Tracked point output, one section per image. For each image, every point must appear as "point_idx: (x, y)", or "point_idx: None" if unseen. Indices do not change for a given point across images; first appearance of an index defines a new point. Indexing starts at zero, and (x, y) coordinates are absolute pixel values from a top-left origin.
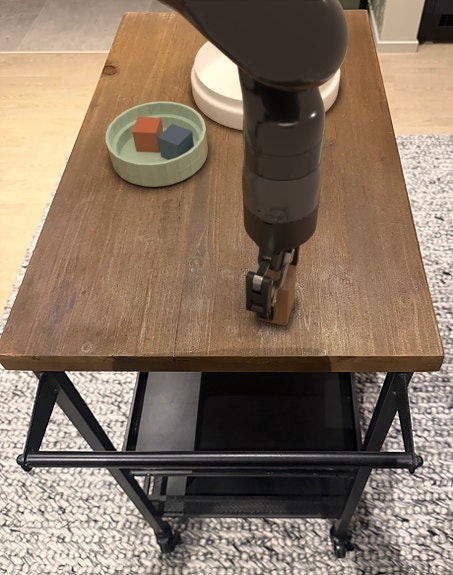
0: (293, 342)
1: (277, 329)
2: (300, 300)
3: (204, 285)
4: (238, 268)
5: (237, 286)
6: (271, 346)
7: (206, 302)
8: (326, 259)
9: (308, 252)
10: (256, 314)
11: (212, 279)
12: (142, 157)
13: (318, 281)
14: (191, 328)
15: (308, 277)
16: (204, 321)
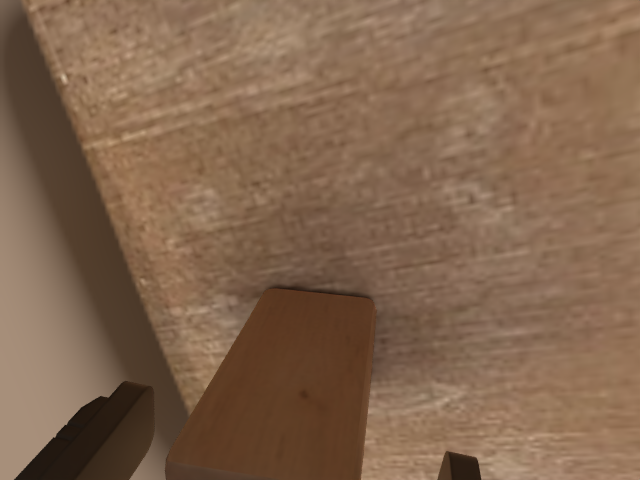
0: None
1: None
2: (385, 406)
3: (382, 27)
4: (510, 163)
5: (405, 182)
6: (186, 340)
7: (291, 68)
8: (592, 475)
9: (628, 420)
10: (122, 385)
11: (425, 56)
12: None
13: (479, 453)
14: (152, 45)
15: (494, 425)
16: (200, 90)
